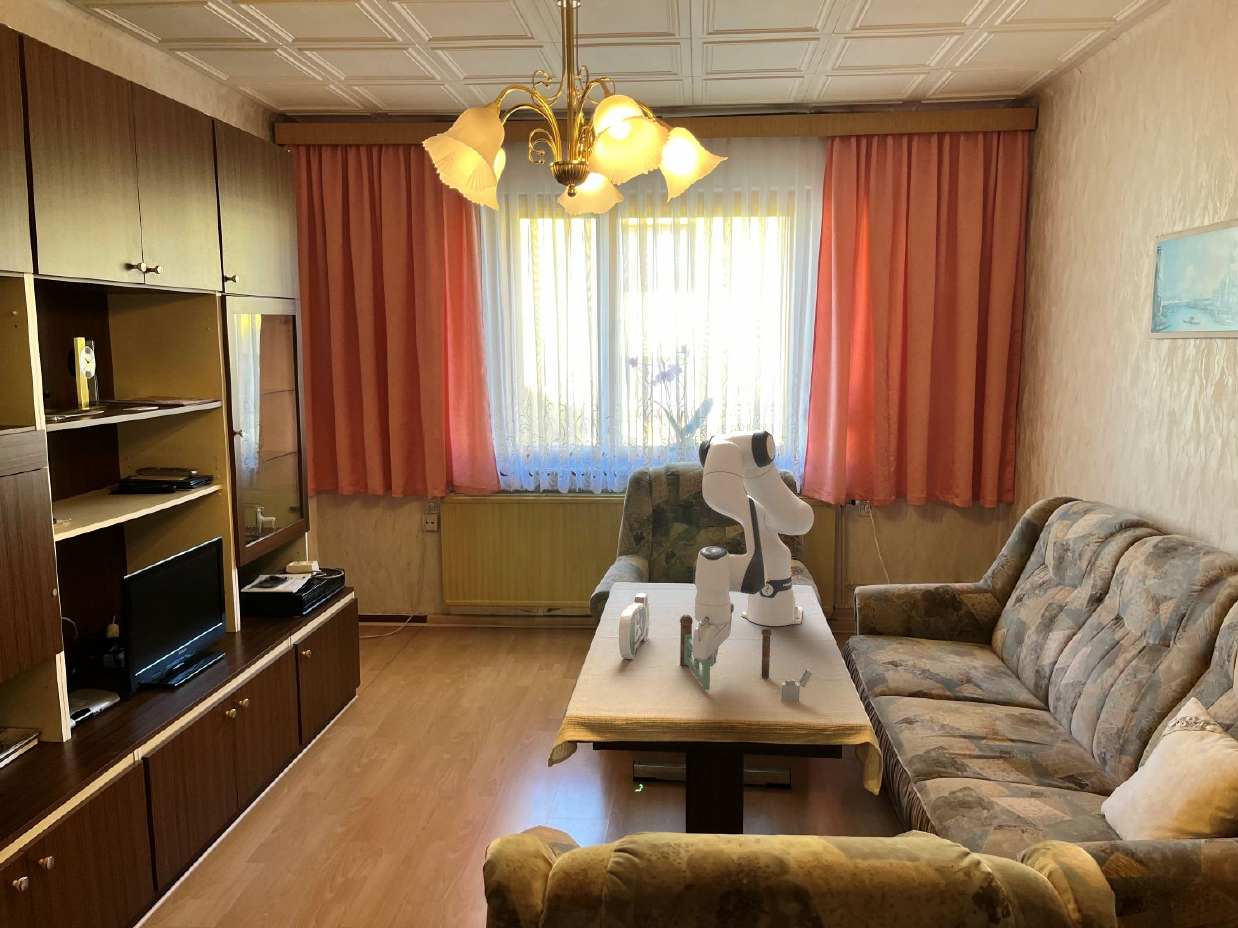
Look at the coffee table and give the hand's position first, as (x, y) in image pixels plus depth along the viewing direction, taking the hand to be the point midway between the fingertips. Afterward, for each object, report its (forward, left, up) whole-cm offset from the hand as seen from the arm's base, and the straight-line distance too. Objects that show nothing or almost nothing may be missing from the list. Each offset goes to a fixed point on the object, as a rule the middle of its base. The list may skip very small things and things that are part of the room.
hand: (711, 664), depth 236 cm
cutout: (-17, -28, -6) cm, 33 cm away
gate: (-3, -5, -5) cm, 7 cm away
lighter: (0, +22, -6) cm, 23 cm away
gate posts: (-12, 0, -6) cm, 13 cm away
